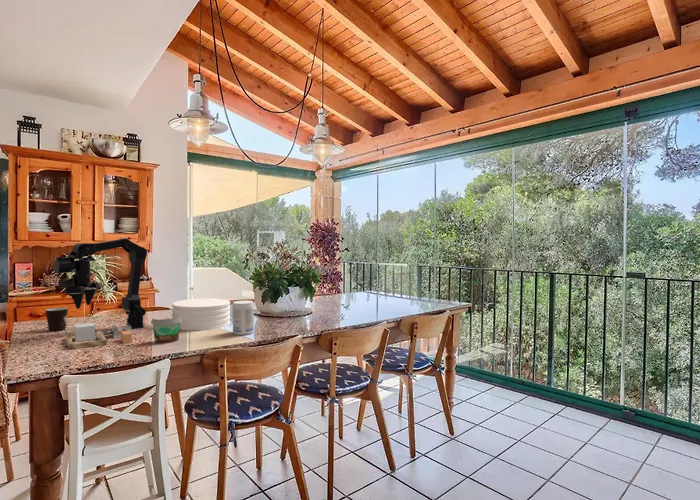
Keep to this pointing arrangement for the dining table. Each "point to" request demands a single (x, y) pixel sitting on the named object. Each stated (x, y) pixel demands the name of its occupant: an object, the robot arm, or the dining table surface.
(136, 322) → the robot arm
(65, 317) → the coffee mug
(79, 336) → the tilted light grey box
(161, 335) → the food container
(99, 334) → the bay
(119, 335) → the block
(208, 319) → the plate stack
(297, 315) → the dining table surface
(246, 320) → the supplement tub
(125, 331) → the crank handle
